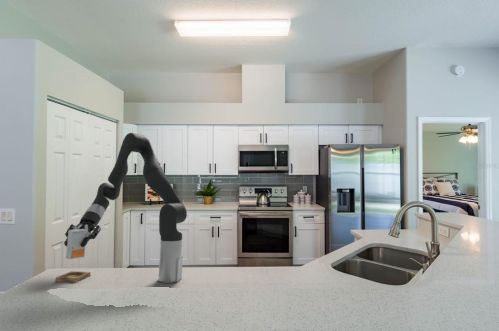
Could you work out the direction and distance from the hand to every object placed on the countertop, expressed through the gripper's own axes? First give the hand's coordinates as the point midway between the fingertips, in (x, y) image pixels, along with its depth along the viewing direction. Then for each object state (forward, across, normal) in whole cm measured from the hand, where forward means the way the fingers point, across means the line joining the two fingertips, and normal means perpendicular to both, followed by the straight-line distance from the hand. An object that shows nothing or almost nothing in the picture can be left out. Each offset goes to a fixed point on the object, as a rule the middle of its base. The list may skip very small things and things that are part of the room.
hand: (73, 245), depth 116 cm
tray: (+9, 0, +11) cm, 14 cm away
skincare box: (+3, 0, +5) cm, 6 cm away
